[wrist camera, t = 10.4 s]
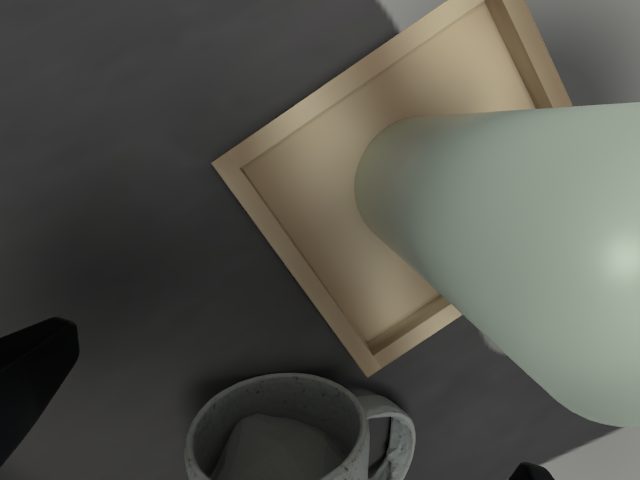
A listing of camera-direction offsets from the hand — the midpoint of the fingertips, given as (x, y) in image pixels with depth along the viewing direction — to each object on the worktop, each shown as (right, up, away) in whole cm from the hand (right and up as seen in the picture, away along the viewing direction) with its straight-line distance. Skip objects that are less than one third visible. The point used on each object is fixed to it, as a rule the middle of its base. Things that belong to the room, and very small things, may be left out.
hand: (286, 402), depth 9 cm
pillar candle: (+5, +6, +12) cm, 14 cm away
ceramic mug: (0, -7, +15) cm, 16 cm away
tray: (+5, +6, +12) cm, 15 cm away
